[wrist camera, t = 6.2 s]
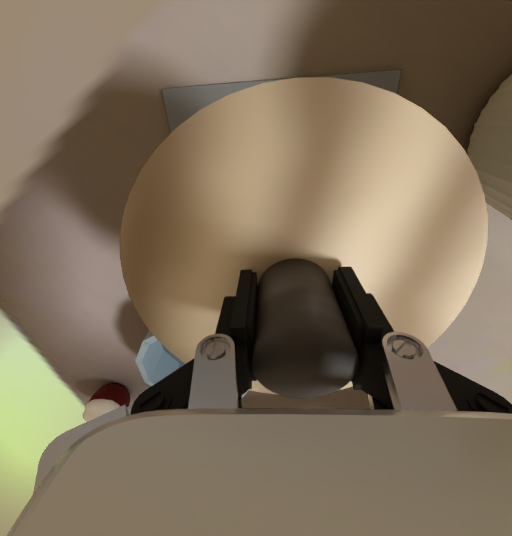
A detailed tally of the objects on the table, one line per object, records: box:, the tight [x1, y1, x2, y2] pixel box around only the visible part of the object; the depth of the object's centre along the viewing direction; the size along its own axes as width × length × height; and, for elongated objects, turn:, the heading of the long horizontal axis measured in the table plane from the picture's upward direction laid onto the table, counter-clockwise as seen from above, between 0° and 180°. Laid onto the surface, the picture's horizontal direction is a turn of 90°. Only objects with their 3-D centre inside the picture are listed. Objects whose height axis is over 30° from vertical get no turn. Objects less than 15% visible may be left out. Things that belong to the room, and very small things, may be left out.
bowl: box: [135, 330, 249, 398], centre depth 35 cm, size 15×15×6 cm
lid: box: [120, 77, 488, 399], centre depth 11 cm, size 17×17×6 cm
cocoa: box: [83, 384, 130, 422], centre depth 40 cm, size 10×6×12 cm, turn 87°
